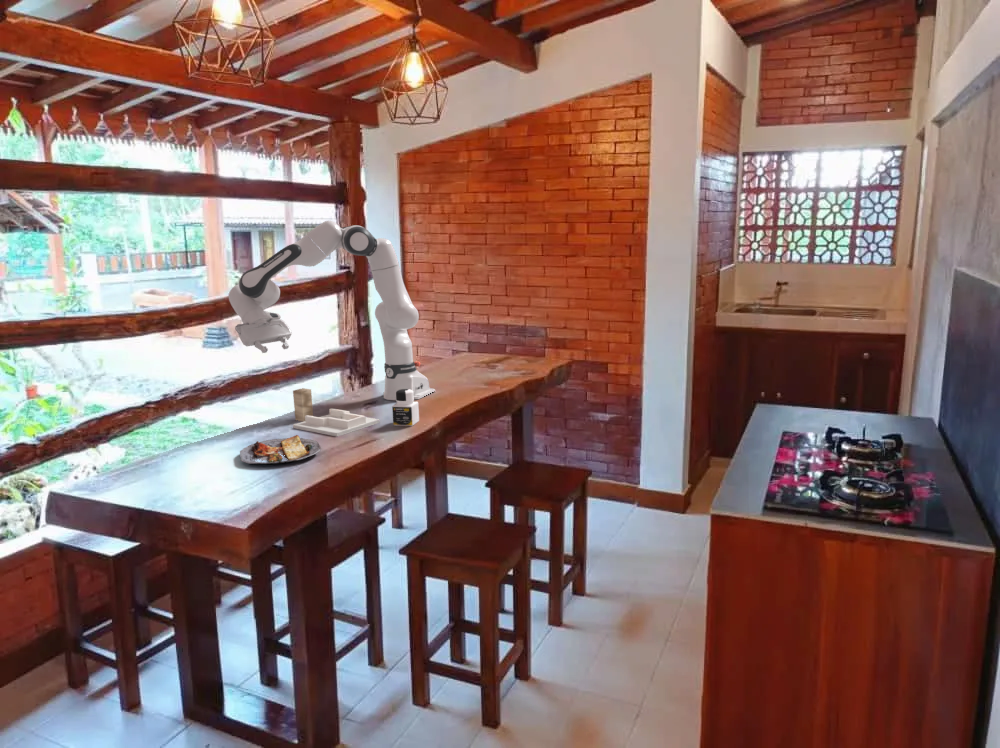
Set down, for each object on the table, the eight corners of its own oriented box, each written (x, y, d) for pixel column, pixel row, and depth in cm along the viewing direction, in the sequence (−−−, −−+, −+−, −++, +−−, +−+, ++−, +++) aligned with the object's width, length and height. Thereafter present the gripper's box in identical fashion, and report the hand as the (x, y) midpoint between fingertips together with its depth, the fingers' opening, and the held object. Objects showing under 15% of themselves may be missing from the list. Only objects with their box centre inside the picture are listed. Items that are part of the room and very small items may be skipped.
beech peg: (305, 417, 271) (302, 388, 268) (313, 418, 268) (311, 389, 266) (295, 420, 267) (292, 390, 265) (303, 421, 264) (301, 391, 262)
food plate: (239, 448, 233) (238, 438, 232) (314, 440, 241) (313, 430, 240) (241, 474, 210) (240, 462, 209) (324, 464, 218) (324, 452, 217)
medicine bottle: (393, 425, 255) (391, 392, 253) (400, 420, 262) (398, 387, 260) (412, 426, 253) (410, 392, 251) (419, 421, 260) (417, 387, 258)
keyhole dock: (336, 415, 272) (335, 405, 271) (379, 422, 260) (379, 412, 259) (293, 428, 256) (292, 417, 255) (337, 436, 244) (336, 425, 243)
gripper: (236, 319, 263) (255, 348, 260) (282, 313, 280) (301, 340, 276) (229, 331, 267) (248, 359, 263) (275, 324, 283) (294, 351, 279)
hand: (276, 349), depth 270 cm, fingers open, 8 cm apart
